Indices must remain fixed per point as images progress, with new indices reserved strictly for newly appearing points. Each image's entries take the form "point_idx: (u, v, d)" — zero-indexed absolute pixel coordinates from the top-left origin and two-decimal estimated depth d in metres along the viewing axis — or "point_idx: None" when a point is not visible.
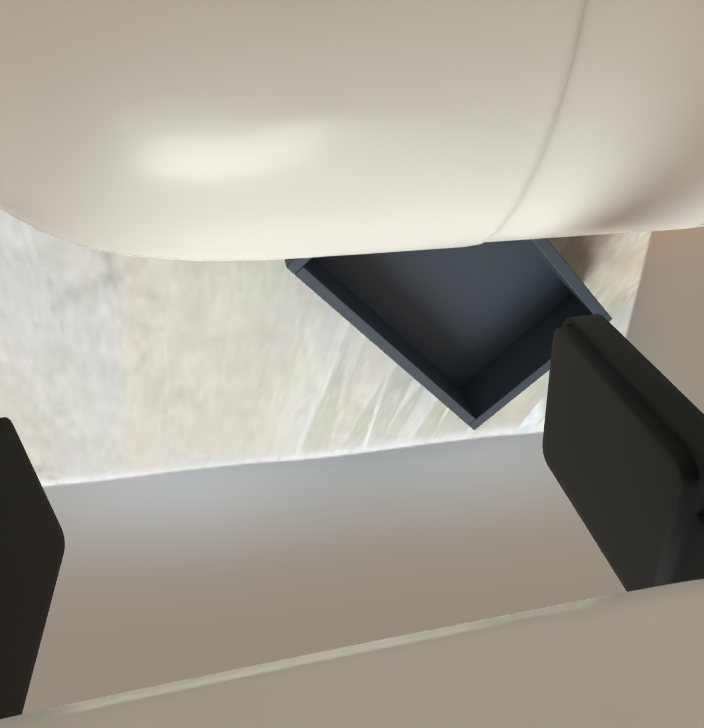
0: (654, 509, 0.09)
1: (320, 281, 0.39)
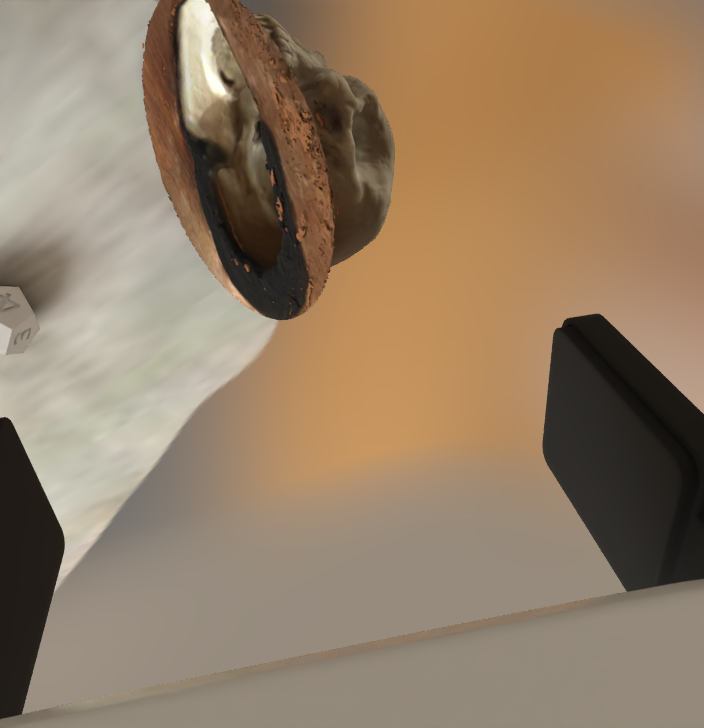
0: (654, 509, 0.09)
1: None
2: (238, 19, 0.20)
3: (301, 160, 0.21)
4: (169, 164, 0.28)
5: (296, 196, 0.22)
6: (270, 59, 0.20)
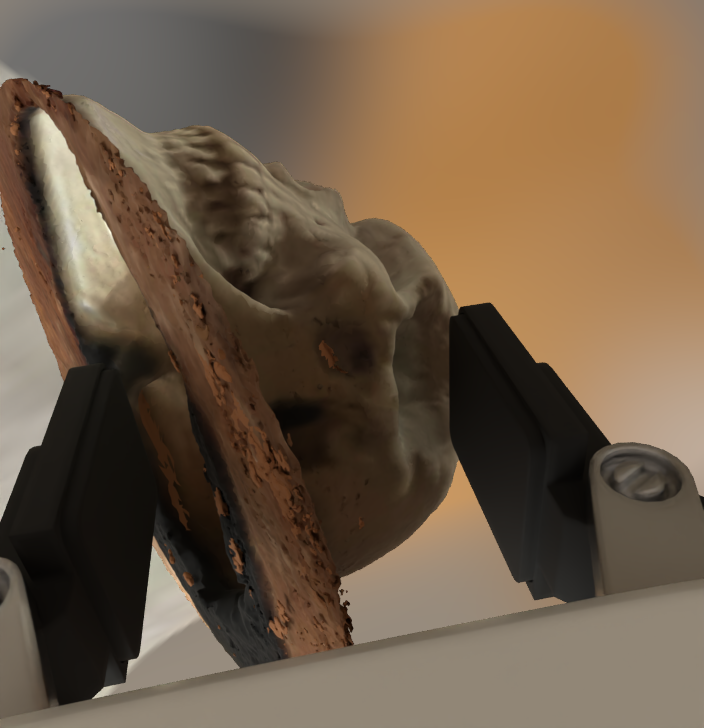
0: (517, 482, 0.09)
1: None
2: (120, 187, 0.08)
3: (276, 521, 0.08)
4: (65, 356, 0.16)
5: (268, 561, 0.10)
6: (193, 303, 0.07)
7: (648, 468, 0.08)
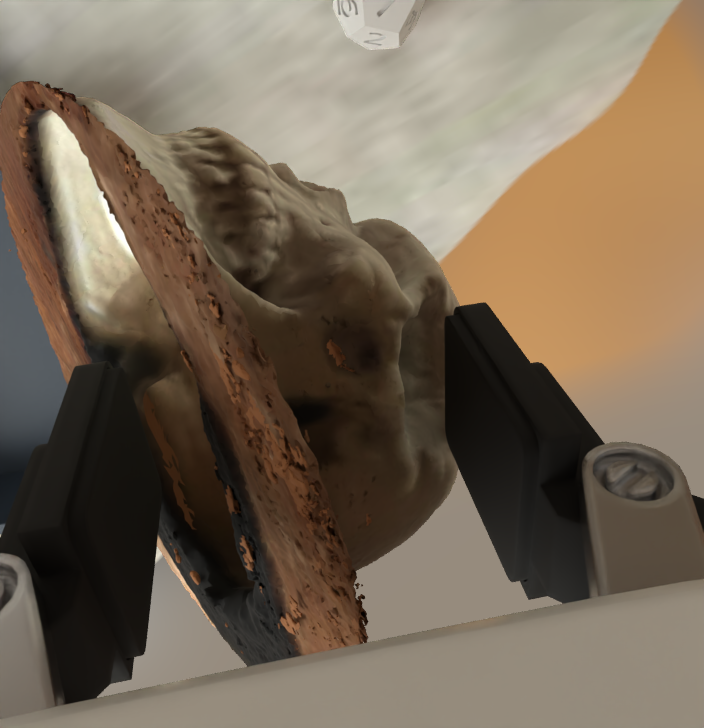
0: (510, 482, 0.09)
1: None
2: (135, 189, 0.08)
3: (290, 517, 0.09)
4: (69, 358, 0.16)
5: (280, 558, 0.10)
6: (209, 303, 0.08)
7: (640, 467, 0.08)
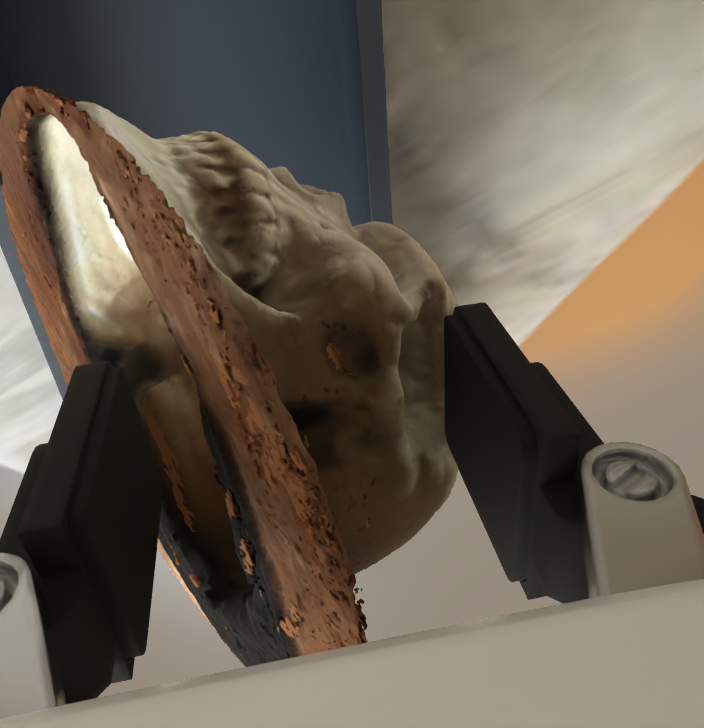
0: (510, 482, 0.09)
1: None
2: (135, 194, 0.08)
3: (290, 521, 0.09)
4: (69, 360, 0.16)
5: (280, 561, 0.10)
6: (210, 308, 0.08)
7: (639, 467, 0.08)
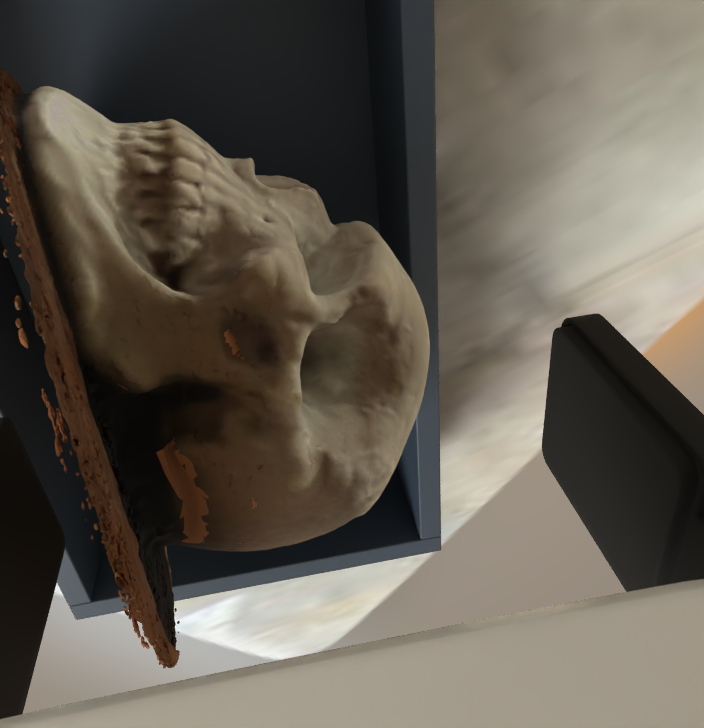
0: (653, 509, 0.09)
1: None
2: (12, 172, 0.09)
3: (97, 476, 0.10)
4: None
5: (121, 512, 0.11)
6: (31, 278, 0.09)
7: None
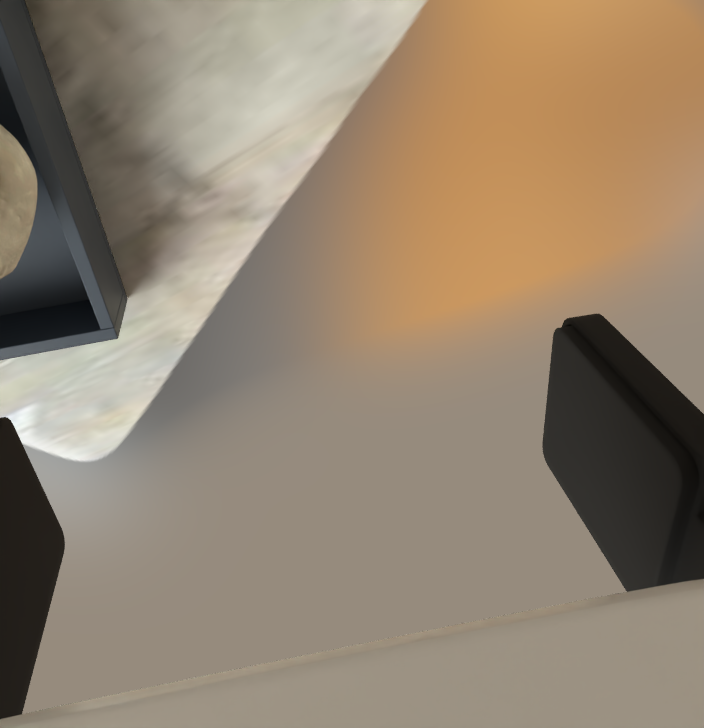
0: (654, 509, 0.09)
1: None
2: None
3: None
4: None
5: None
6: None
7: None
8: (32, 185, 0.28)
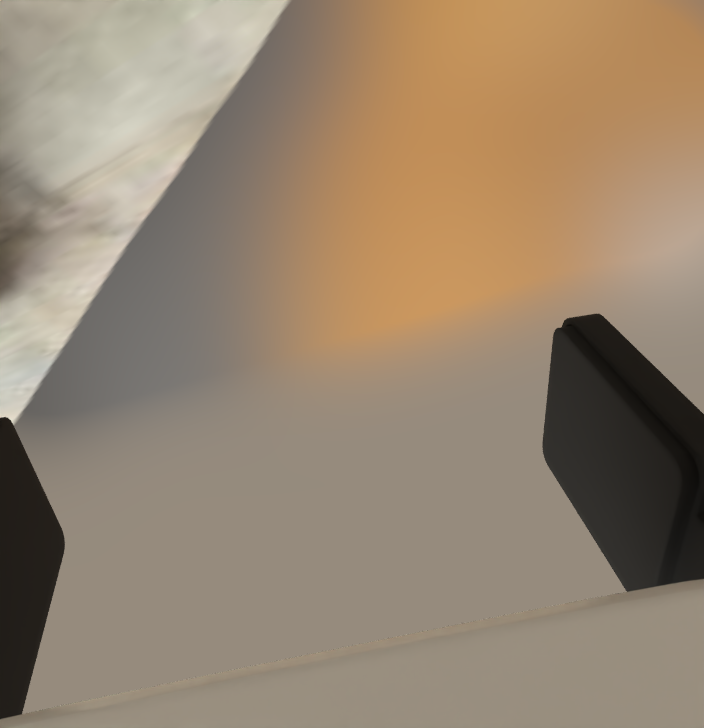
0: (654, 509, 0.09)
1: None
2: None
3: None
4: None
5: None
6: None
7: None
8: None
